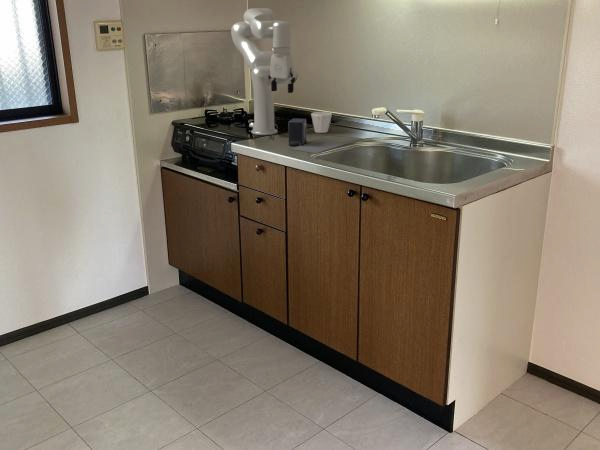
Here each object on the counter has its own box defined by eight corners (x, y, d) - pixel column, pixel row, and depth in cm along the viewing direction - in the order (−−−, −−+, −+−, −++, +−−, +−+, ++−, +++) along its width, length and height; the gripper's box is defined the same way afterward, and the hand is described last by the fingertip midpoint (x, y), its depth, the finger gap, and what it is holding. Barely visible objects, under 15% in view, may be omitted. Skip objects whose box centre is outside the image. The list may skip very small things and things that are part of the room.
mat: (289, 149, 269) (289, 148, 269) (319, 140, 285) (319, 140, 285) (316, 153, 261) (316, 153, 261) (345, 144, 278) (345, 144, 277)
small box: (302, 145, 274) (302, 121, 271) (288, 145, 275) (287, 121, 272) (307, 141, 284) (306, 118, 280) (293, 141, 285) (292, 118, 282)
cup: (331, 134, 300) (332, 115, 297) (311, 134, 300) (311, 115, 297) (331, 130, 309) (331, 111, 306) (310, 130, 309) (311, 111, 306)
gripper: (261, 51, 273) (261, 91, 279) (292, 52, 264) (292, 94, 269) (271, 50, 279) (272, 89, 285) (303, 51, 269) (303, 92, 275)
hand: (282, 91), depth 277 cm, fingers open, 8 cm apart
